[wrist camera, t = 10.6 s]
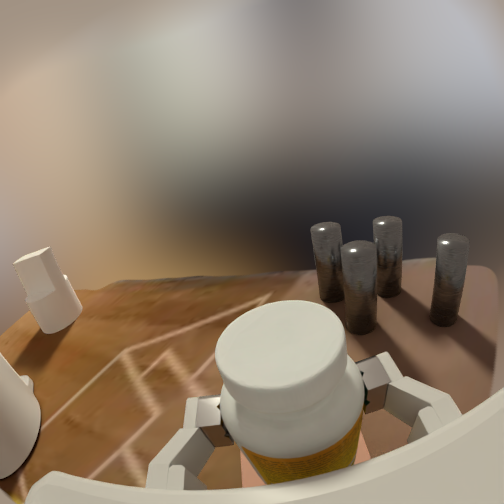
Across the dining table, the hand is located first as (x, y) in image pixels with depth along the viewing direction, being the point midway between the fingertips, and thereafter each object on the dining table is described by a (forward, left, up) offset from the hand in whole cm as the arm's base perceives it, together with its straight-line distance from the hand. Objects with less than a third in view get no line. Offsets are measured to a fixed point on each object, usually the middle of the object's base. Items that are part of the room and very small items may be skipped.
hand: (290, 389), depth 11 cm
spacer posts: (+11, +14, -9) cm, 20 cm away
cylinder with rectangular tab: (-35, +26, -9) cm, 45 cm away
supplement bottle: (0, -1, -6) cm, 6 cm away
